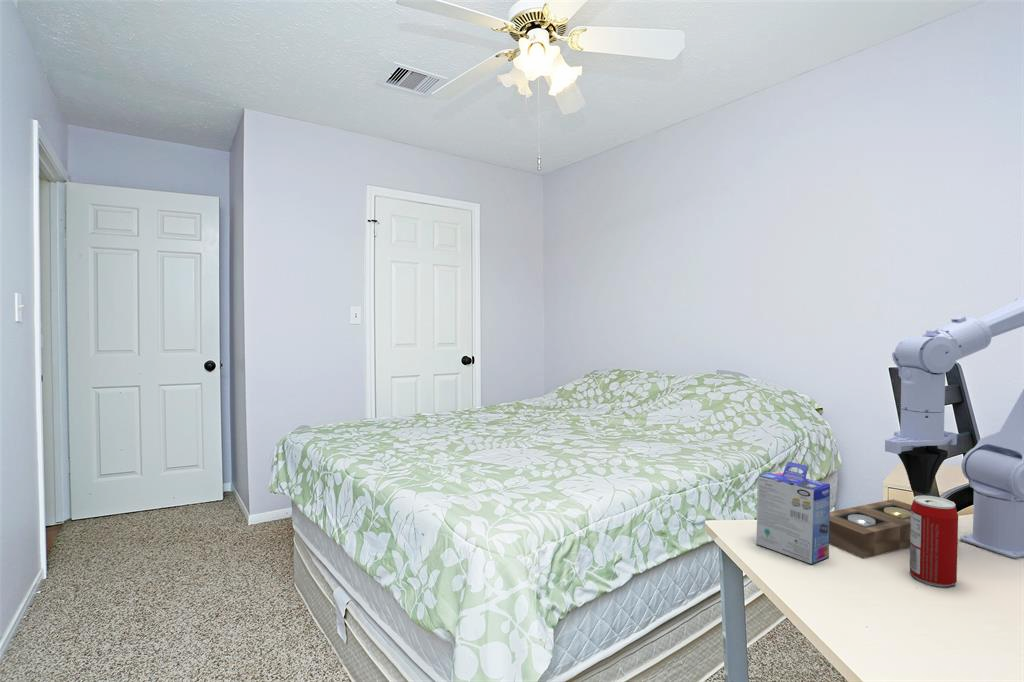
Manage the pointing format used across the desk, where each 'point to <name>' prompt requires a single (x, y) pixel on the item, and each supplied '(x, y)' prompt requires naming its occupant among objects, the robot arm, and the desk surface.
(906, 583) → the desk surface
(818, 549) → the ink cartridge box
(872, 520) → the steel peg
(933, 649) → the desk surface
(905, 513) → the brass peg
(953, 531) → the soda can
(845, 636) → the desk surface
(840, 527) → the brown peg hole block
